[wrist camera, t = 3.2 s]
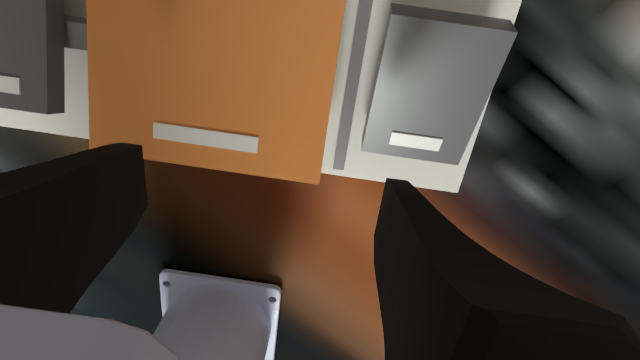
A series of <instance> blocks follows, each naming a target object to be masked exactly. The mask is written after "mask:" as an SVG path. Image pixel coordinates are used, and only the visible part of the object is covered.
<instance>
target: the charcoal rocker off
mask: <svg viewBox="0 0 640 360" xmlns="http://www.w3.org/2000/svg"><path fill="white" fill-rule="evenodd" d="M0 108H6V109H13V110H19V111H26V112H33V113H40V114H47V115H48V114H58V113H65V76H64V0H0Z"/></svg>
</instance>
